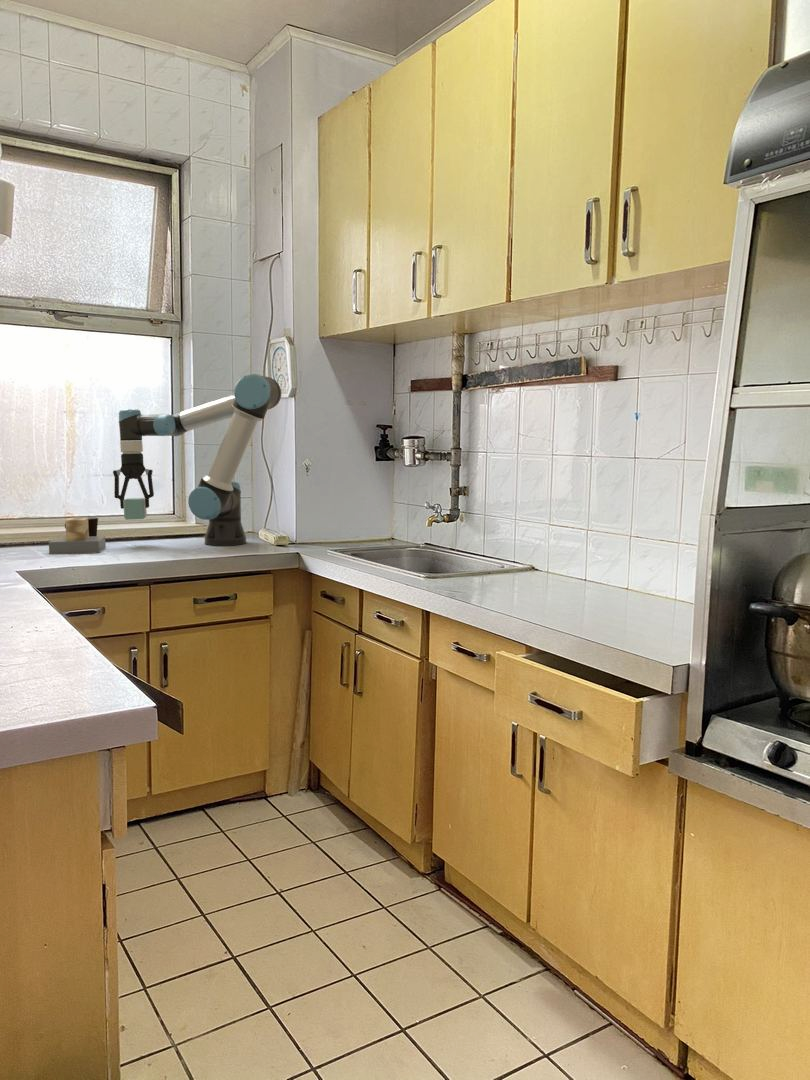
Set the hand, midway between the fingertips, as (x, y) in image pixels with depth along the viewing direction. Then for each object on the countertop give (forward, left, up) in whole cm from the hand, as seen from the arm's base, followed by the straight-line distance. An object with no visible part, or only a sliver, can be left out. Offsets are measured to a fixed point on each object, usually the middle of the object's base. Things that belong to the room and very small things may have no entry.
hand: (135, 517), depth 298 cm
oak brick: (+18, +9, -6) cm, 21 cm away
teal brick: (0, 0, 0) cm, 0 cm away
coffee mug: (+19, -6, -11) cm, 23 cm away
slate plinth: (+19, +9, -10) cm, 23 cm away
